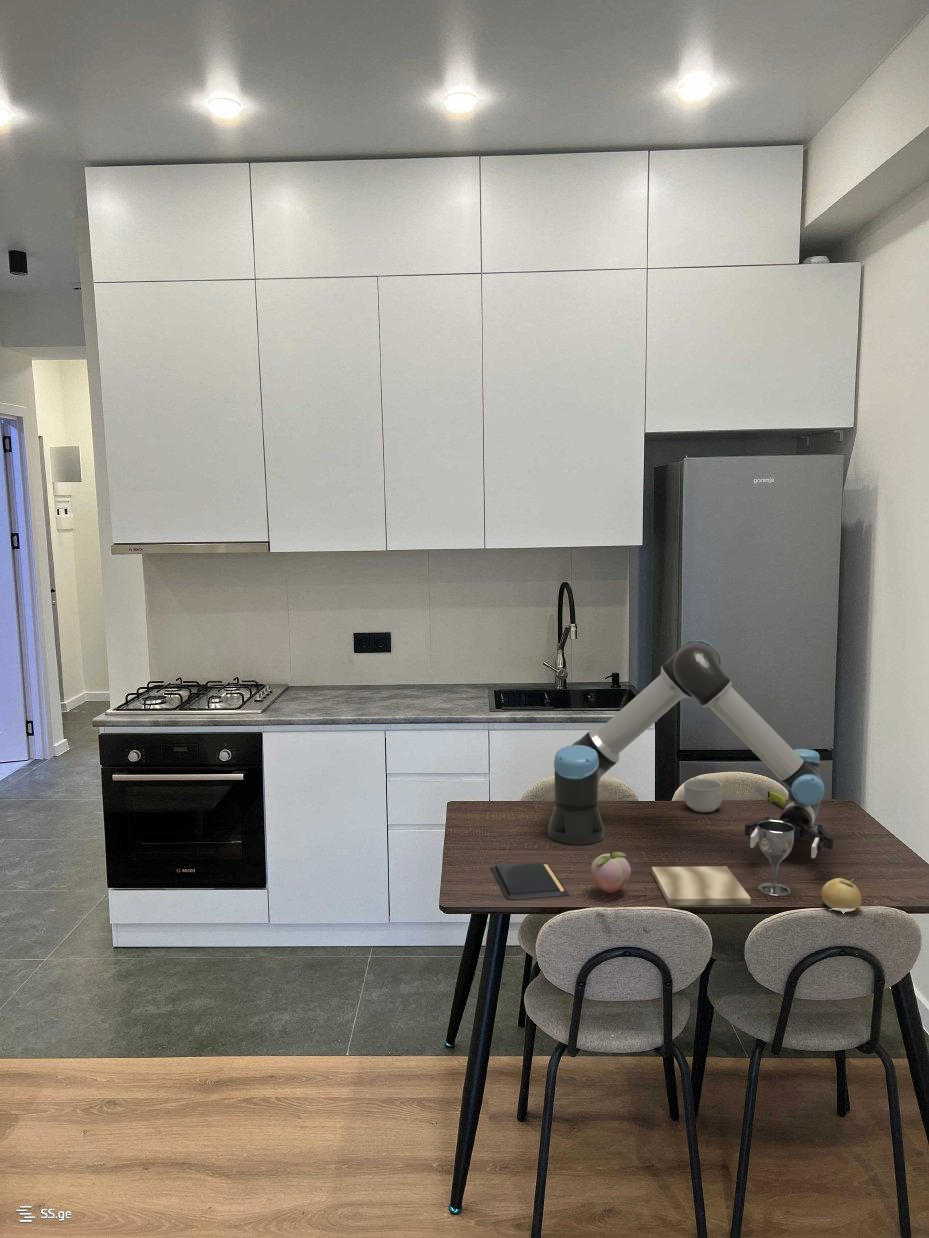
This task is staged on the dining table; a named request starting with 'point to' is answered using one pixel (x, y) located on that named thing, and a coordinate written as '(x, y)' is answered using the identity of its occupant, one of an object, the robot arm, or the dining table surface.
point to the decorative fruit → (610, 871)
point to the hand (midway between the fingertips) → (781, 847)
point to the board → (700, 886)
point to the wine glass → (775, 850)
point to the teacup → (703, 794)
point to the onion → (841, 894)
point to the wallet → (528, 881)
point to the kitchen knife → (770, 795)
